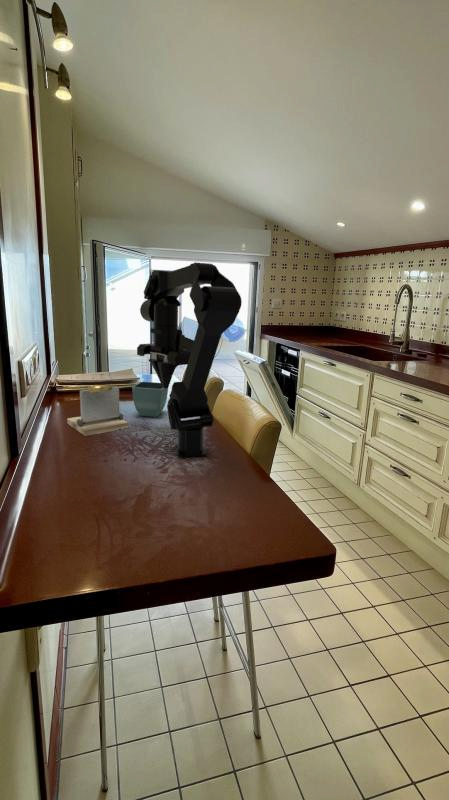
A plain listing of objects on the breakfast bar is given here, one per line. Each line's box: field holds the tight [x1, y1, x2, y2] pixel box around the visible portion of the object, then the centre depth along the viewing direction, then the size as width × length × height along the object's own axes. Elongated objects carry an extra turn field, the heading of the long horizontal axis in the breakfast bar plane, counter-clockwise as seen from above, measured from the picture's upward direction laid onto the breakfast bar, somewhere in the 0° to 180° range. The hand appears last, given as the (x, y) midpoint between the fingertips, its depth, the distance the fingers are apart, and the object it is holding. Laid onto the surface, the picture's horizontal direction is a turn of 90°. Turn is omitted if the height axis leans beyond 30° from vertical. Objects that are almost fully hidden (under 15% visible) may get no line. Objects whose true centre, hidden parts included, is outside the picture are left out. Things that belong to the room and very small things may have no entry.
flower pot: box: [131, 381, 169, 418], centre depth 125 cm, size 9×9×9 cm
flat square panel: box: [79, 384, 120, 425], centre depth 111 cm, size 2×10×10 cm, turn 130°
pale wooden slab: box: [66, 412, 130, 437], centre depth 114 cm, size 12×12×3 cm
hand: (165, 387), depth 107 cm, fingers closed
